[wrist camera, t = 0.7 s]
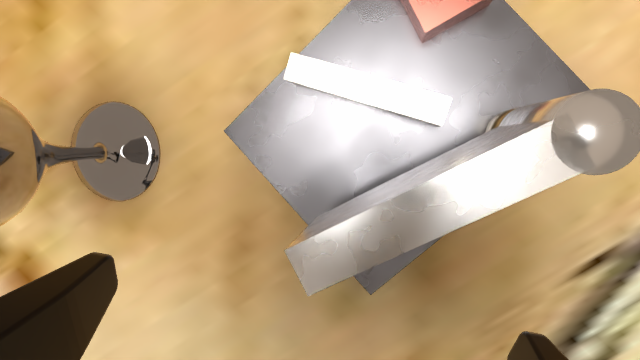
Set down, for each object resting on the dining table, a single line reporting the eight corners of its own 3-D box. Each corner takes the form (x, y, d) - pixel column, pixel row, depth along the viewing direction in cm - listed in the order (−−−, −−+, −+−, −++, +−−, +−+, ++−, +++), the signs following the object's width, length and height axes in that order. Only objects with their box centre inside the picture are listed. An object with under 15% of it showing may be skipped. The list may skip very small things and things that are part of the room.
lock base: (371, 288, 26) (368, 311, 23) (231, 131, 27) (206, 130, 23) (598, 103, 23) (635, 96, 19) (430, -72, 23) (436, -109, 20)
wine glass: (47, 143, 30) (-294, 148, 15) (118, 72, 28) (-187, -1, 13) (111, 228, 29) (-171, 318, 15) (187, 161, 28) (-46, 187, 13)
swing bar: (542, 95, 20) (621, 72, 13) (568, 146, 20) (662, 150, 13) (314, 209, 22) (279, 241, 15) (337, 253, 22) (312, 305, 15)
